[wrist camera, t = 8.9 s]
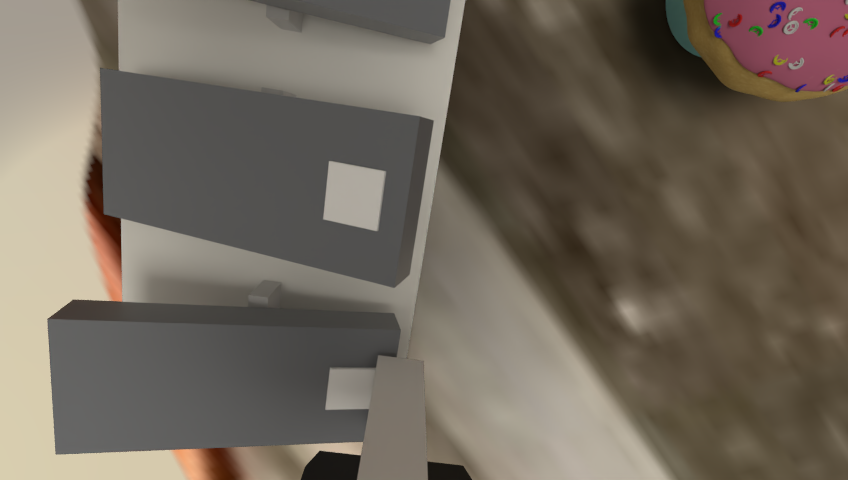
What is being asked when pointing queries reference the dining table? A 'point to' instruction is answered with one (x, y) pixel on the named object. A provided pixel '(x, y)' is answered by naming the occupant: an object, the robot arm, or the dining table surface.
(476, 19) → the dining table surface
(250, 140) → the block
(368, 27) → the rocker
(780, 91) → the cupcake
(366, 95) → the switch unit
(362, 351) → the rocker
